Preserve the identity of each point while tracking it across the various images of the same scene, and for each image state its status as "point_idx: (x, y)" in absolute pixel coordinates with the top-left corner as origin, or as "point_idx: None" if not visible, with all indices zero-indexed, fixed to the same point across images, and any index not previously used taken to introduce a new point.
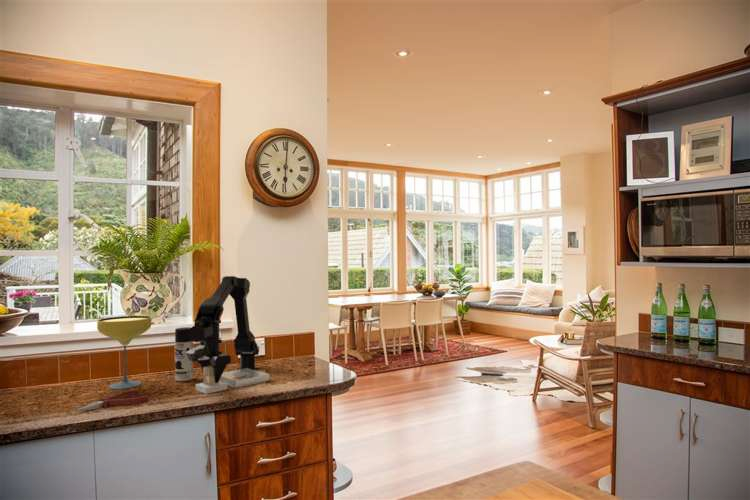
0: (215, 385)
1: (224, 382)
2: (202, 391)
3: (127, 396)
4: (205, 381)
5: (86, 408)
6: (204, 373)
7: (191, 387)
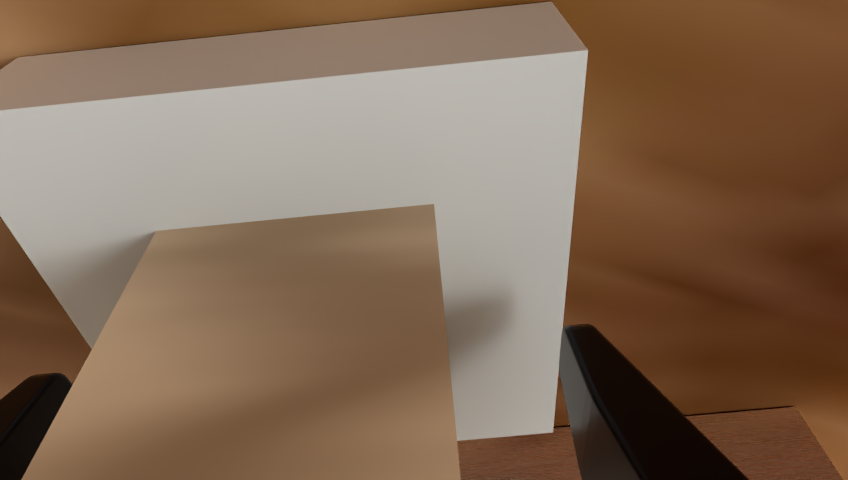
0: None
1: (516, 451)
2: (185, 46)
3: None
4: (312, 268)
5: None
6: (364, 465)
7: (841, 6)
